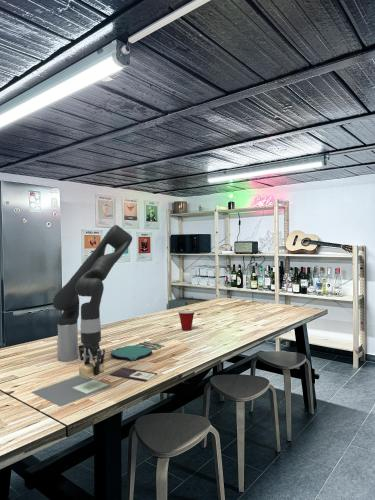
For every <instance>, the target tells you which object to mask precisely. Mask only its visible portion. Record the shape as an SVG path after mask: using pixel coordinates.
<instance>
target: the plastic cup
mask: <svg viewBox="0 0 375 500" xmlns="http://www.w3.org/2000/svg"><path fill="white" fill-rule="evenodd" d="M177 313H178V315H179V320H180V325H181V329H182V331H184V332H188V331H189V332H190V331H191V330H192V327H193V319H194V315H195V313H196V311H194V310H180V311H177Z"/></svg>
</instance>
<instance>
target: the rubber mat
mask: <svg viewBox="0 0 375 500" xmlns="http://www.w3.org/2000/svg"><path fill="white" fill-rule="evenodd" d="M111 387H112V385H111V384H108V383H105V382H103V381H100V380H97V379H94V378H93V377H90V378H88V379H87V378H84V377H81V376H79V375H76V376H74V377H71V378H68V379H67V378H66V379H63V380H62V381H59V382H55V383H53V384H50V385H47V386H45V387H42V388H38V389H36V390H33V391H31V392H30V393H32V394H34V395H35V396H38V397H40V398H42V399H44V400H46V401H47V402H50V403H51V404H54V405H56V406H57V407H60V408H62V407H63V406H66V405H68V404H71V403H72V402H76V401H79V400H81V399H82V398H83V399H84V398H86V397H88V396H91V395H93V394H96V393H98V392H100V391H103V390H105V389H108V388H111Z"/></svg>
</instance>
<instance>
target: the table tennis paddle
mask: <svg viewBox="0 0 375 500" xmlns="http://www.w3.org/2000/svg"><path fill="white" fill-rule="evenodd" d="M148 346H149V347H148ZM162 347H163V348H165V347H166V346H165V345H163V344H159V343H152V342H148V341H143V342H139V344H135V345H124V346H121V347H118V348H116V349H113V350H111V351H110V355H111V356H113V357H115V358H118V359H129V360H130V361H131V362H134V361H136V360H137V359H139V358H143V357H147V356H148V355H150V354H152V353H153V350H154V351H155V350H158V348H159V349H161V348H162Z"/></svg>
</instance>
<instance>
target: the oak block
mask: <svg viewBox="0 0 375 500" xmlns="http://www.w3.org/2000/svg"><path fill="white" fill-rule="evenodd" d="M93 366H94V365H93V361H92V362H90V363H89V364H86V365H84V364H83V365H80V366H79V367H78V376H81V377H84V378H87V379H88V378H93V377H95V376H94V370H93ZM99 368H100V373H99V375H102V374H104V373H105V363H104V362H103V364H101V365H100V366H99Z"/></svg>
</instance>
